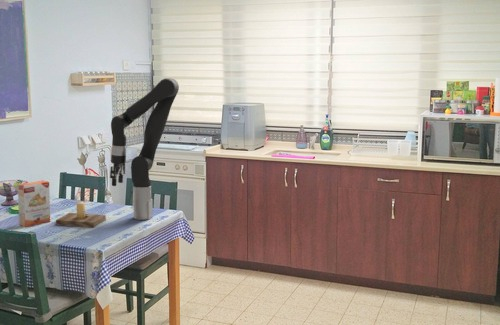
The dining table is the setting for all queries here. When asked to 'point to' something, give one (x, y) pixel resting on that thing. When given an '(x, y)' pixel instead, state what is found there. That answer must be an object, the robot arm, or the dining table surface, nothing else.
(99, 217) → the walnut pocket board
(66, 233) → the dining table surface
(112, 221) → the dining table surface
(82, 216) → the ochre peg
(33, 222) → the cracker box
